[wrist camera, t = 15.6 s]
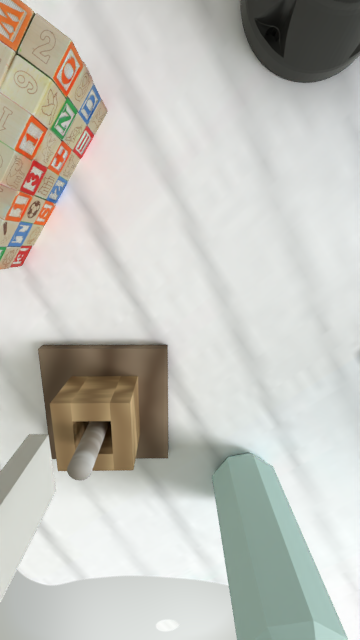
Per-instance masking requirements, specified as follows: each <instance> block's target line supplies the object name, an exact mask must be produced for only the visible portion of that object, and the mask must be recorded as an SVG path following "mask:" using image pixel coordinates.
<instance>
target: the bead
mask: <svg viewBox="0 0 360 640" xmlns="http://www.w3.org/2000/svg"><path fill="white" fill-rule="evenodd" d="M50 409H51V417H52V425H53V434H54V442H55V450H56V458H57V466H58V471H67V467H68V465H69V463H70V461H71V459H72V457H73V455H74V453H75V450H76V448H77V446H78V444H79V442H80V440H81V438H82V436H83V434H84V432H85V430H86V428H87V426H88V424H89V422H90V421H110V423H109V426H108V429H107V431H106V434H105V437H104V440H103V442H102V445H101V448H100V450H99V453H98V456H97V459H96V461H95V464H94V467H93V469H92V471H103V470H133V469H134V464H135V458H136V453H137V448H138V442H139V437H140V419H139V393H138V376H75V377H70V379H69V380H68V381H67V382H66V384H65V385H64V386H63V388H62V389H61V390H60V391H59V393H58V394H57V395H56V396H55V398H54V399H53V400H52V401H51V403H50Z"/></svg>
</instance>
